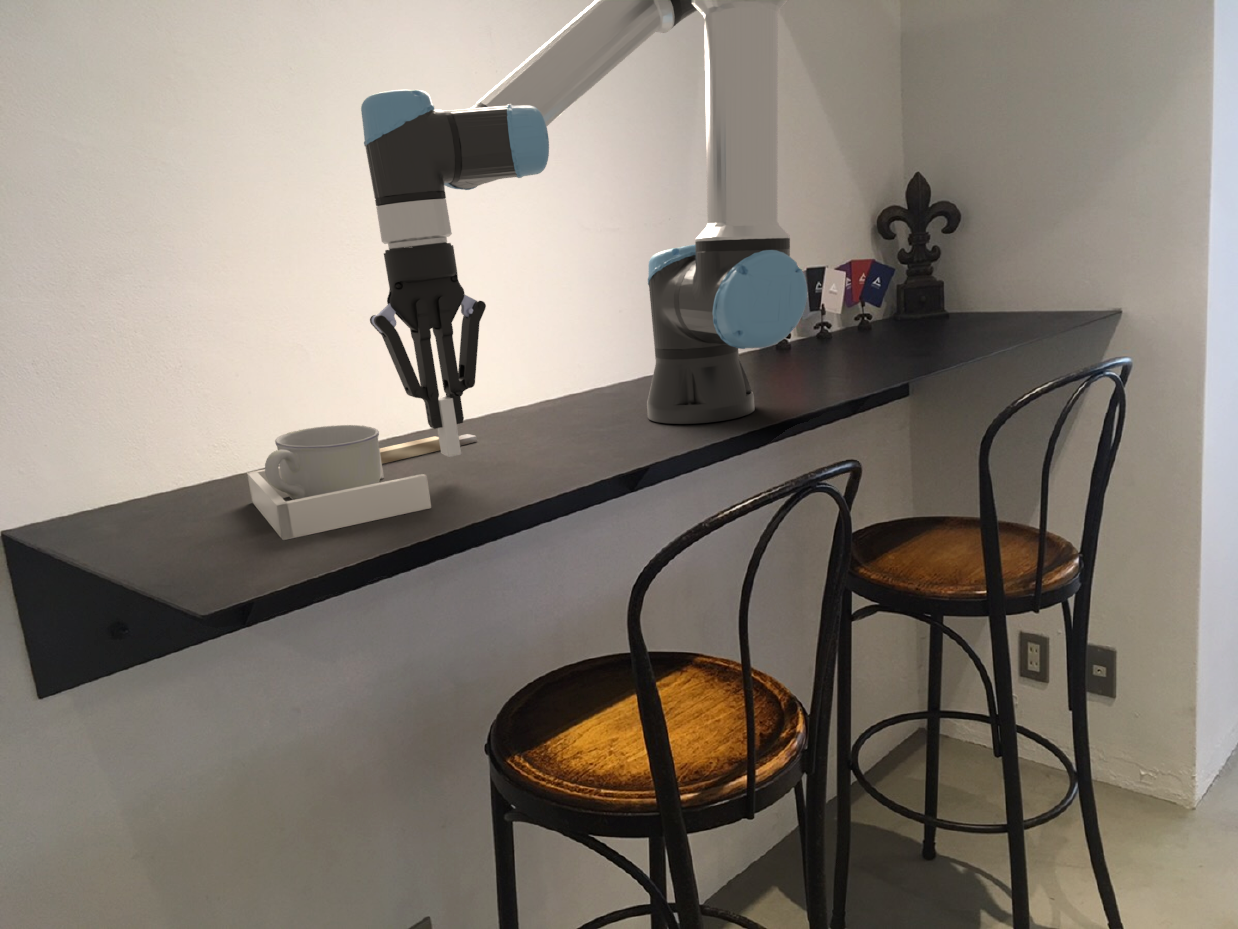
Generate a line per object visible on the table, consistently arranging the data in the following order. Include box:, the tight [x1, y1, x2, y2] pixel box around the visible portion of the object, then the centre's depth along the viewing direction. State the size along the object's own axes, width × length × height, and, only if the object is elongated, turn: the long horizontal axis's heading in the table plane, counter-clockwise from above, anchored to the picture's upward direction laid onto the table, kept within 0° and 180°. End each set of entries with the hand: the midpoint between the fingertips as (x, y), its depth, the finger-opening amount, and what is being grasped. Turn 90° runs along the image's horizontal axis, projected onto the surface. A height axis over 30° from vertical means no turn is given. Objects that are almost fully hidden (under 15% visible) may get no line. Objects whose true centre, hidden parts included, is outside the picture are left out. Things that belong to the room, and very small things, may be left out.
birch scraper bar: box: [379, 433, 478, 465], centre depth 127 cm, size 23×2×2 cm, turn 129°
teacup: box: [264, 424, 381, 500], centre depth 104 cm, size 14×11×8 cm
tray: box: [246, 450, 432, 541], centre depth 105 cm, size 15×19×4 cm
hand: (451, 453), depth 111 cm, fingers closed
